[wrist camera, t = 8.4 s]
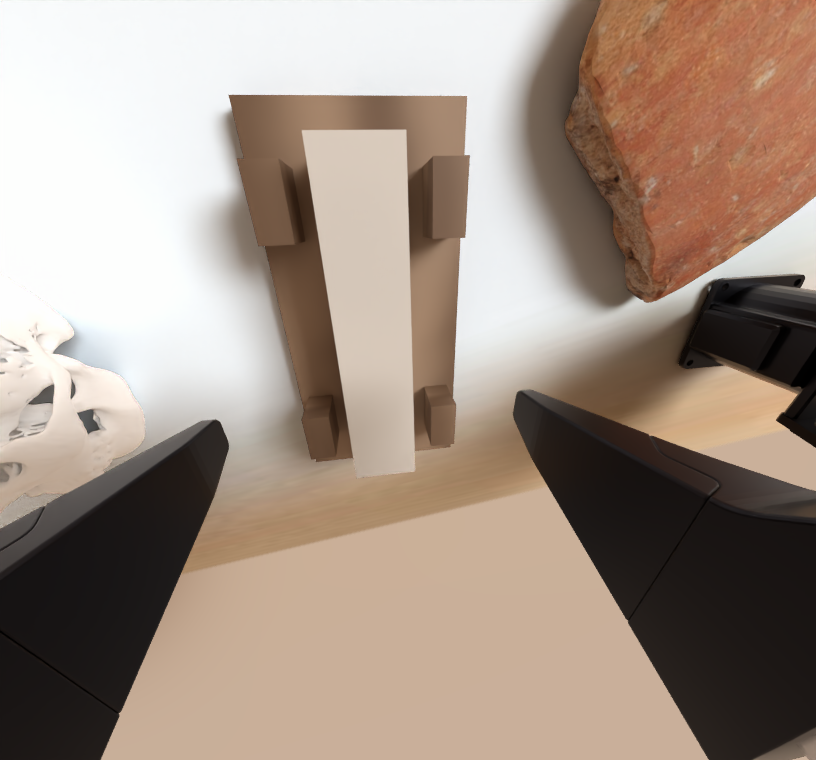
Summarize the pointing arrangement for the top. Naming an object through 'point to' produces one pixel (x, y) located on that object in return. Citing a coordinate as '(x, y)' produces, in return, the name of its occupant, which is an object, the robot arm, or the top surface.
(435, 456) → the top surface
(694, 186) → the ceramic shard
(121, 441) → the skull bowl
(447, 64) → the top surface
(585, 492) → the robot arm
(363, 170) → the clay strip
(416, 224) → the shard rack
